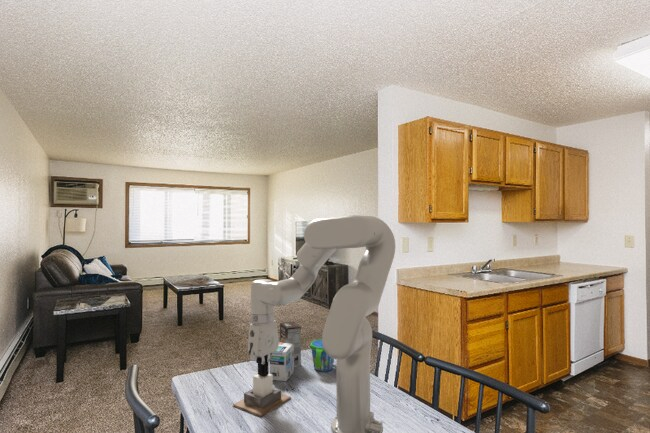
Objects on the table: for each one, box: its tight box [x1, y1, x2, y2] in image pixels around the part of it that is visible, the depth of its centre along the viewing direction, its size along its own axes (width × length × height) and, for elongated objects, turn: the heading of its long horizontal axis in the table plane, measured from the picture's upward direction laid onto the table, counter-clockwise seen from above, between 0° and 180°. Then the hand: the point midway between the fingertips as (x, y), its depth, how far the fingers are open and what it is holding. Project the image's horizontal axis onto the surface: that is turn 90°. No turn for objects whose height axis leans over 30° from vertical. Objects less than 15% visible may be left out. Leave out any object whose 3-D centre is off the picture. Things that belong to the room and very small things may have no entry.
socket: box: [233, 387, 292, 418], centre depth 117 cm, size 12×14×3 cm
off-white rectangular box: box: [252, 372, 274, 398], centre depth 117 cm, size 4×4×8 cm
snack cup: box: [309, 338, 335, 373], centre depth 145 cm, size 16×11×10 cm
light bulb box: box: [269, 342, 295, 382], centre depth 139 cm, size 11×7×11 cm, turn 168°
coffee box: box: [279, 321, 302, 368], centre depth 151 cm, size 9×6×16 cm
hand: (263, 374), depth 117 cm, fingers closed
